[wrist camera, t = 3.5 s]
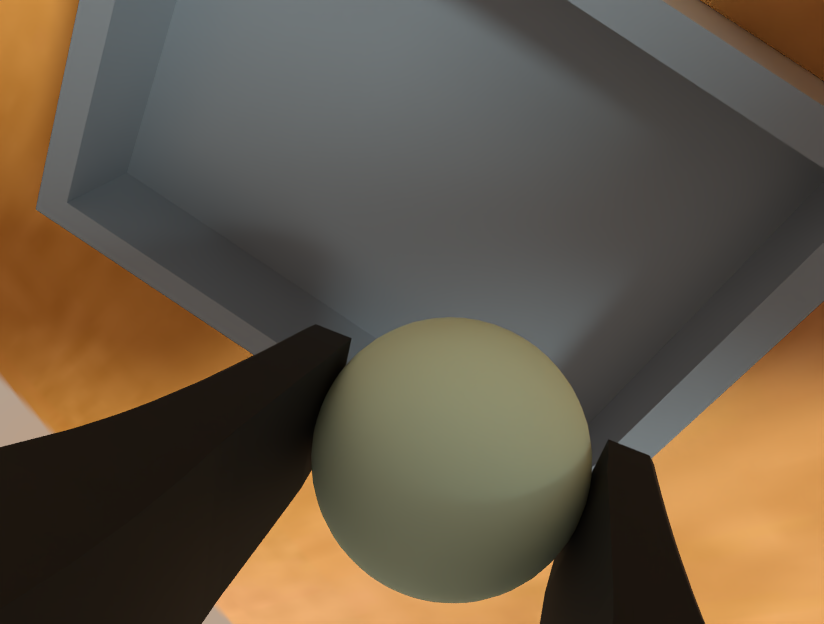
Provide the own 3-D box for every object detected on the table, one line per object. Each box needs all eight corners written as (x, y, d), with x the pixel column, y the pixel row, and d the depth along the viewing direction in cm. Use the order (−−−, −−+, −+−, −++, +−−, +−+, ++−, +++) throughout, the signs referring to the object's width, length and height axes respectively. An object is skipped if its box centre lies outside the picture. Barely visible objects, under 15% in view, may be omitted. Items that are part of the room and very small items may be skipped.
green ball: (641, 320, 11) (624, 507, 8) (560, 503, 13) (520, 709, 10) (390, 238, 12) (276, 379, 8) (352, 425, 14) (250, 596, 11)
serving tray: (909, 136, 15) (948, 187, 12) (567, 475, 22) (549, 551, 19) (240, -300, 15) (149, -336, 13) (111, 172, 22) (35, 209, 20)
